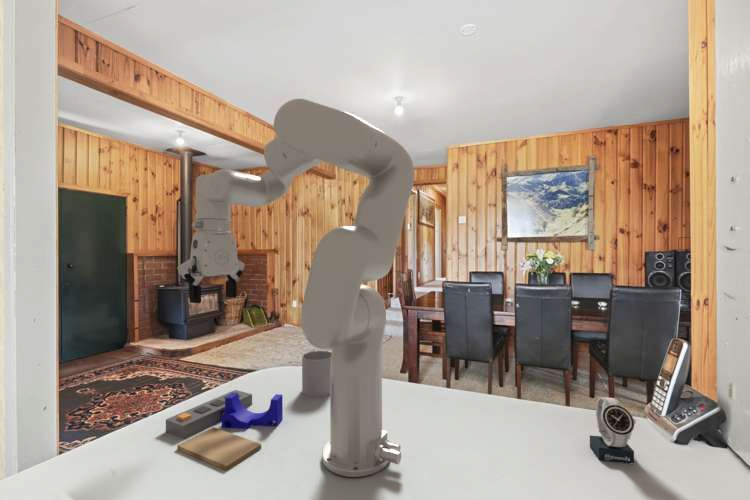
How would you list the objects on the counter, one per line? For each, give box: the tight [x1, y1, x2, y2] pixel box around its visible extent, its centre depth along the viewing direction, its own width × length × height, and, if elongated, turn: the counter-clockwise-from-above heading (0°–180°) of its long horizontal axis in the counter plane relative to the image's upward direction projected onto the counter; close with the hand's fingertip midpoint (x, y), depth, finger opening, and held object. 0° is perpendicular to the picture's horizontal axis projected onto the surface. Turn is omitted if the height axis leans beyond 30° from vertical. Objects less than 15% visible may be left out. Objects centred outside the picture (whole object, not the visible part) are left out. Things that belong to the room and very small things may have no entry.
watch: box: [589, 396, 637, 464], centre depth 65 cm, size 6×8×11 cm
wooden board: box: [176, 426, 262, 471], centre depth 69 cm, size 14×8×1 cm, turn 61°
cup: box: [301, 350, 332, 398], centre depth 96 cm, size 8×8×10 cm
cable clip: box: [221, 393, 284, 430], centre depth 79 cm, size 12×4×6 cm, turn 84°
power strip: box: [165, 389, 253, 440], centre depth 82 cm, size 18×6×4 cm, turn 151°
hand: (214, 299), depth 85 cm, fingers open, 9 cm apart
